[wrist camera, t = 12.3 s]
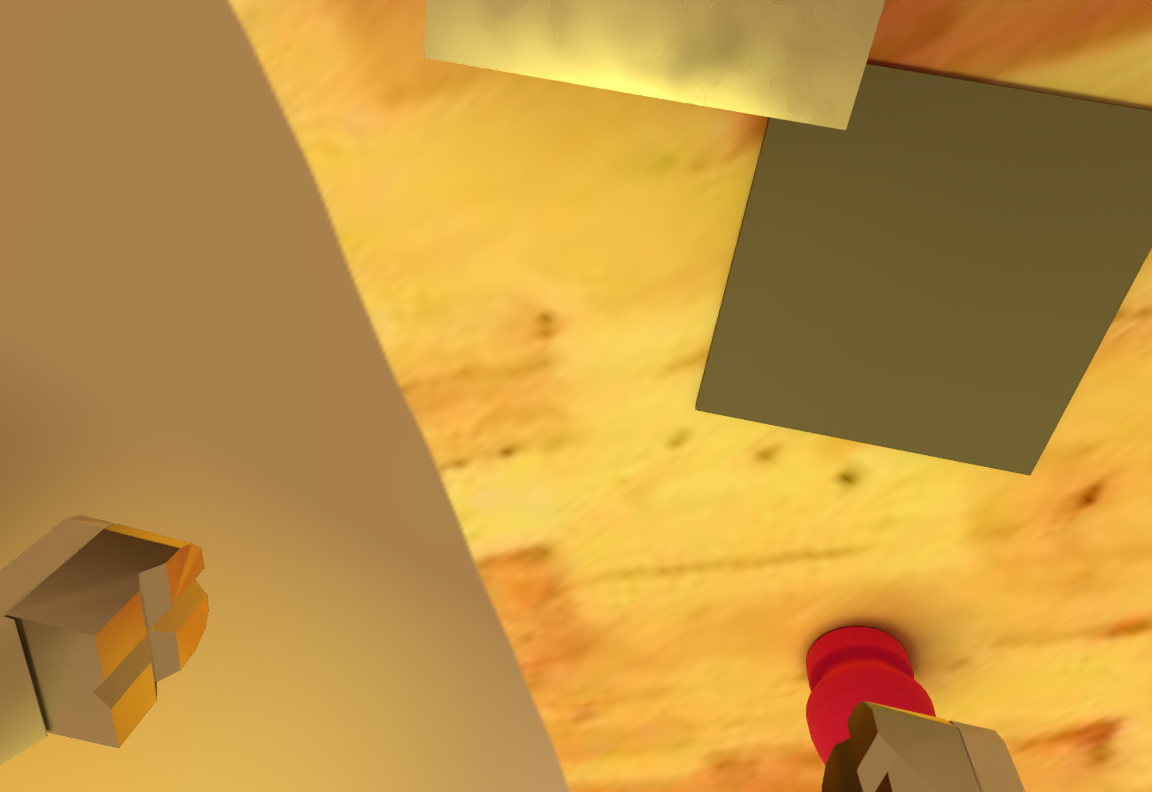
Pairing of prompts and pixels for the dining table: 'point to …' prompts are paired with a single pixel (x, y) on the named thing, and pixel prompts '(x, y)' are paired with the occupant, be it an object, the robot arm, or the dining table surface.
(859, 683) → the pepper mill
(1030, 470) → the rubber mat
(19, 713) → the robot arm
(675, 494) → the dining table surface
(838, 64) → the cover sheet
